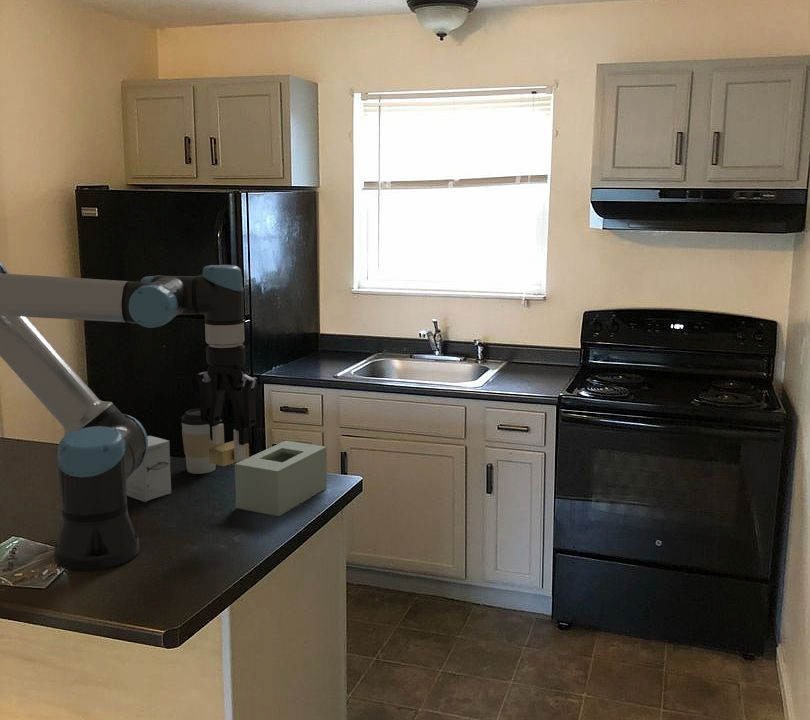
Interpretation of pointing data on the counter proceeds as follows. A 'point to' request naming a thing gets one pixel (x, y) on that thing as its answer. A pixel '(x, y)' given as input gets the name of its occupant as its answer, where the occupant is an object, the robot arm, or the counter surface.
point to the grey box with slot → (280, 477)
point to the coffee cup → (196, 442)
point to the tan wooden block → (224, 454)
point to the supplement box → (151, 472)
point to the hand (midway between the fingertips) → (229, 457)
